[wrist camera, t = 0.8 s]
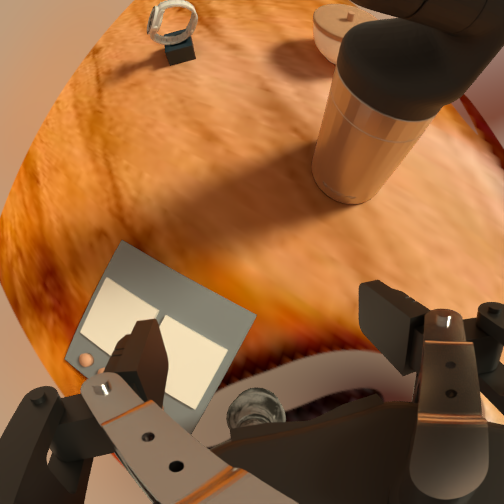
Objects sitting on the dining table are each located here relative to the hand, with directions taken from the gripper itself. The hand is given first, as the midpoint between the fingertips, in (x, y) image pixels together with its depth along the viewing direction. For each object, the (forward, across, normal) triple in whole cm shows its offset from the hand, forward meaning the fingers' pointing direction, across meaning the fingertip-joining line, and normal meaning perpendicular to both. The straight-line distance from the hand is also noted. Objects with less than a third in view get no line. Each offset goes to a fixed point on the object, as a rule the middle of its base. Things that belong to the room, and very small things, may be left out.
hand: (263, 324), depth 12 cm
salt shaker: (+16, 0, +19) cm, 25 cm away
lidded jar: (+35, -22, -24) cm, 48 cm away
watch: (+40, +4, -28) cm, 49 cm away
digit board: (+21, +11, +11) cm, 26 cm away
